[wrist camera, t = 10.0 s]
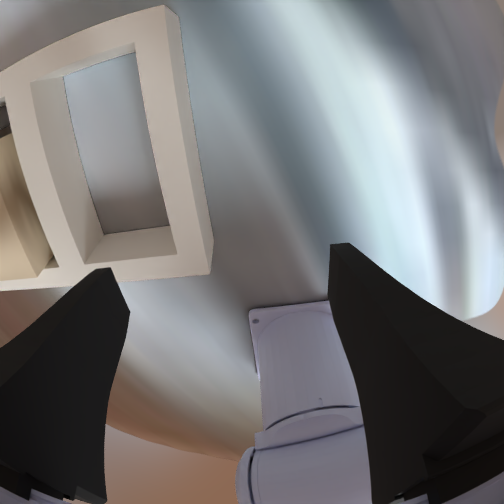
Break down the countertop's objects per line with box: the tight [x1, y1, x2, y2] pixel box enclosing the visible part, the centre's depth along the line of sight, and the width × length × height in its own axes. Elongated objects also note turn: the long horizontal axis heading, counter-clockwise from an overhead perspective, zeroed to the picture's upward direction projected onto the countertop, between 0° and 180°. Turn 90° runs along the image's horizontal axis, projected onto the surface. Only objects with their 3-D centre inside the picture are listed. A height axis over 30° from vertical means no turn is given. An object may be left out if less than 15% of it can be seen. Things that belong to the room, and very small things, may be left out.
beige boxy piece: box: [0, 126, 54, 281], centre depth 15 cm, size 9×4×5 cm, turn 6°
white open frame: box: [0, 4, 214, 291], centre depth 15 cm, size 14×17×4 cm
